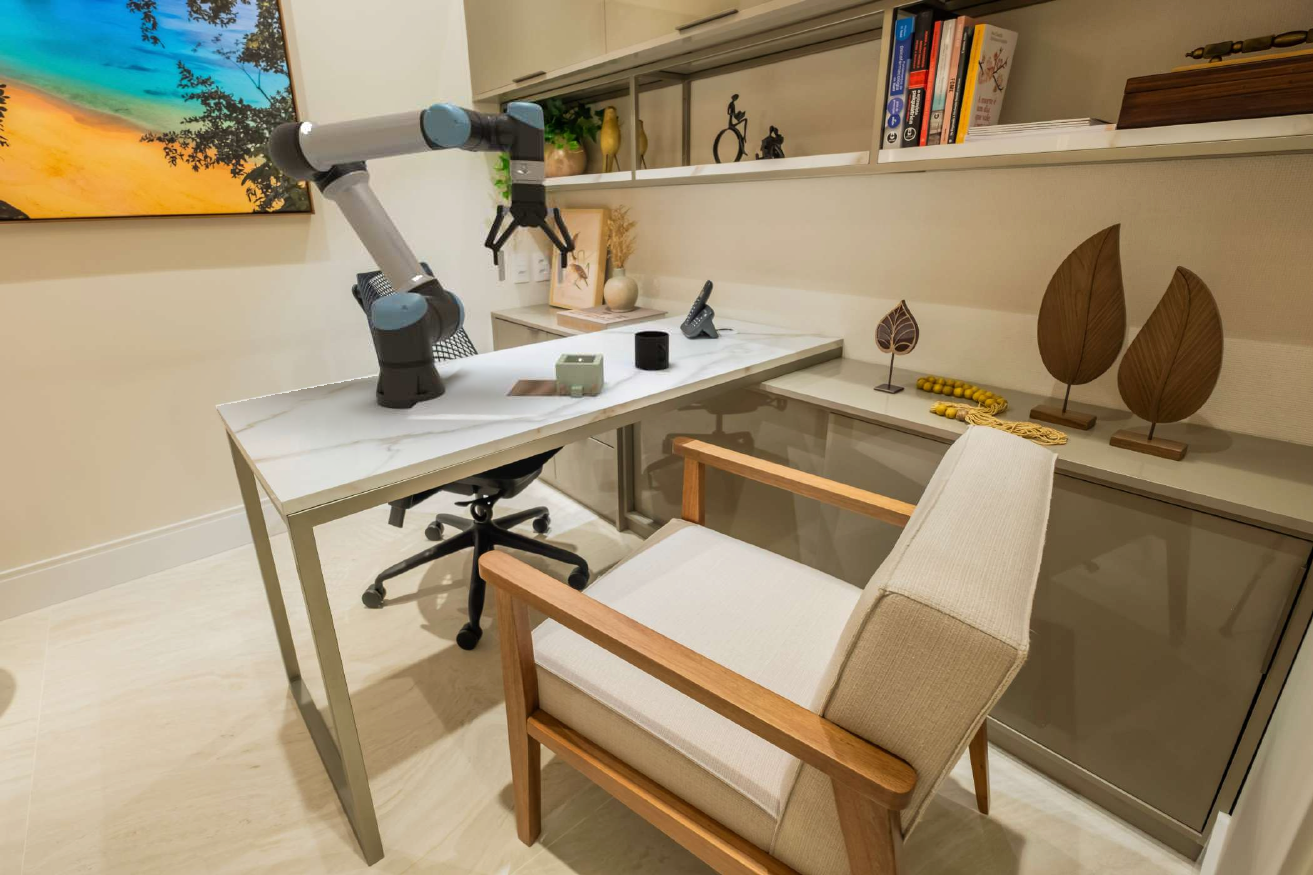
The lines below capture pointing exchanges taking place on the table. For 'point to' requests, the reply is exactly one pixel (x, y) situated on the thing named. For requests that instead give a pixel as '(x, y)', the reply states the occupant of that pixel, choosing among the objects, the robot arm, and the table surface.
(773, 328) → the table surface
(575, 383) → the sage green storage bin
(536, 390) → the board
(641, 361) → the mug
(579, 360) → the post
